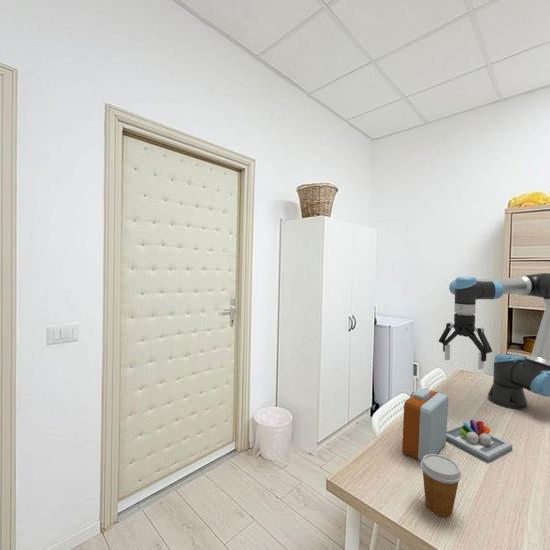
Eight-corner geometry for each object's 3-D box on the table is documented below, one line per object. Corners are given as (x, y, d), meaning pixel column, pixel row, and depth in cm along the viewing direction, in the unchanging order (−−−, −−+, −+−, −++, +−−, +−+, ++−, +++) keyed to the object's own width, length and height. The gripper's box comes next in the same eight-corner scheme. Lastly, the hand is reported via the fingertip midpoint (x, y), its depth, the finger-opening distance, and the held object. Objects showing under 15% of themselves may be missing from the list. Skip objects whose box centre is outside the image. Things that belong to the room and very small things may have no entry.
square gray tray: (463, 427, 125) (463, 422, 125) (512, 450, 110) (512, 444, 110) (438, 437, 117) (439, 431, 117) (487, 463, 102) (488, 456, 102)
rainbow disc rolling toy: (495, 448, 108) (496, 428, 108) (464, 444, 110) (466, 424, 110) (484, 435, 117) (485, 416, 116) (456, 431, 119) (457, 413, 118)
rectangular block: (421, 434, 119) (424, 381, 118) (446, 444, 112) (449, 388, 112) (401, 454, 106) (403, 394, 105) (428, 466, 99) (431, 403, 99)
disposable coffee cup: (442, 493, 88) (444, 451, 87) (468, 520, 78) (470, 474, 78) (411, 496, 86) (413, 454, 86) (434, 524, 77) (436, 477, 76)
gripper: (430, 310, 138) (429, 357, 139) (493, 319, 117) (492, 374, 117) (440, 309, 142) (439, 355, 143) (503, 317, 121) (501, 371, 121)
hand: (463, 364), depth 130 cm, fingers open, 13 cm apart
